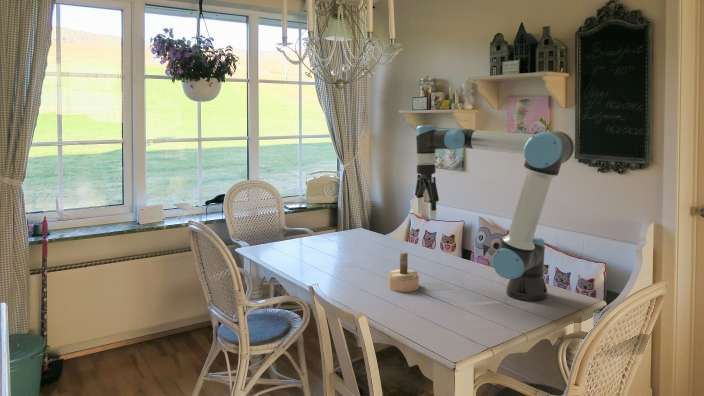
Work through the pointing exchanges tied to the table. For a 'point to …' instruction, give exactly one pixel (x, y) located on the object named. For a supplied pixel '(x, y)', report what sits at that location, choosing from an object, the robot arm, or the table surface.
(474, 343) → the table surface
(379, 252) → the table surface
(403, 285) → the bowl
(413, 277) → the lid
